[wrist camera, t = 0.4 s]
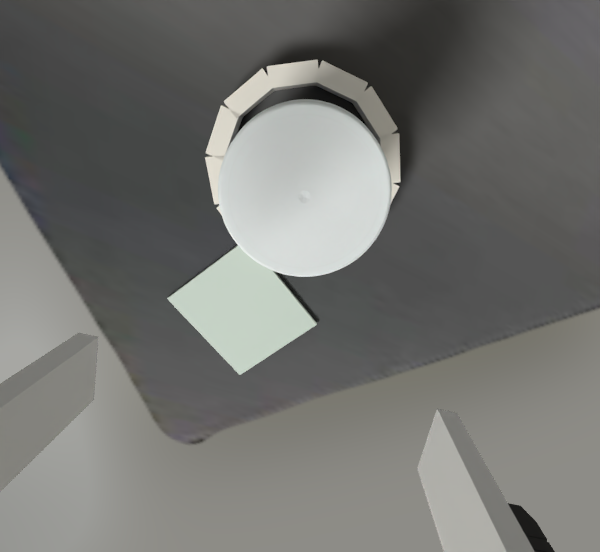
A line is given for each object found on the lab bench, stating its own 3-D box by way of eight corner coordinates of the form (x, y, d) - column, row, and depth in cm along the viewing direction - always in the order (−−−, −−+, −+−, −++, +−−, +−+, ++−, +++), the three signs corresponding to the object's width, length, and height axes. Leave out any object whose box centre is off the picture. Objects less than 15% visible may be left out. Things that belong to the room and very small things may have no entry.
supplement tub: (329, 84, 32) (352, 54, 18) (376, 189, 35) (427, 230, 21) (227, 143, 34) (178, 156, 20) (281, 238, 37) (270, 307, 23)
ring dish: (324, 21, 30) (326, 12, 28) (426, 185, 35) (435, 189, 33) (176, 147, 34) (167, 149, 31) (286, 282, 38) (286, 292, 36)
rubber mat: (247, 238, 37) (246, 239, 36) (316, 322, 40) (316, 324, 39) (168, 296, 39) (167, 298, 38) (240, 372, 42) (239, 375, 41)
